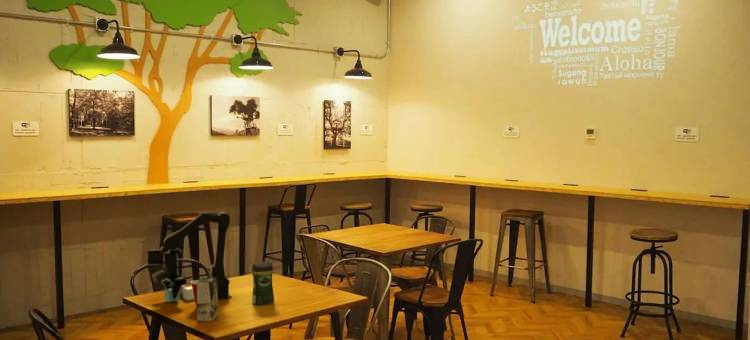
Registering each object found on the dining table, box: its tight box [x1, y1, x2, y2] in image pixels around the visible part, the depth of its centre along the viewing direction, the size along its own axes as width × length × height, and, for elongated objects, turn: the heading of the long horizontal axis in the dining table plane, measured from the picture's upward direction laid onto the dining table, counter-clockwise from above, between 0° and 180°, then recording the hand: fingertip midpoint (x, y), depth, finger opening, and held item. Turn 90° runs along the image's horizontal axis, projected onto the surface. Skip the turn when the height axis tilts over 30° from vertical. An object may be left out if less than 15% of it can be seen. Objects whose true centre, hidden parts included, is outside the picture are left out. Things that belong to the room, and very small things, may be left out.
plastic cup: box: [190, 279, 200, 309], centre depth 298 cm, size 11×11×12 cm
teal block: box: [163, 288, 181, 303], centre depth 309 cm, size 5×5×5 cm
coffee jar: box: [251, 261, 275, 306], centre depth 306 cm, size 10×8×19 cm
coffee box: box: [196, 277, 219, 322], centre depth 282 cm, size 9×6×16 cm
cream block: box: [182, 285, 195, 301], centre depth 315 cm, size 5×5×5 cm
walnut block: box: [179, 284, 188, 298], centre depth 319 cm, size 5×5×5 cm
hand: (171, 297), depth 309 cm, fingers closed on teal block, 5 cm apart
